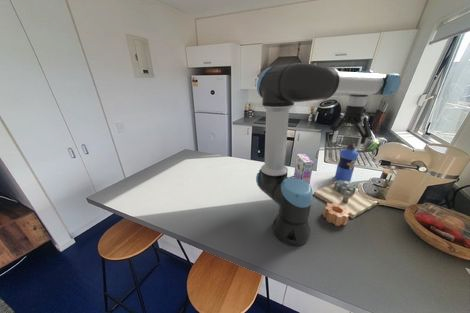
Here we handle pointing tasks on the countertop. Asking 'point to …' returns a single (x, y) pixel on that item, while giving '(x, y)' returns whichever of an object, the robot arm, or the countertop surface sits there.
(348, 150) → the water bottle
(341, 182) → the gear
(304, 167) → the candy box
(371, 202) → the gear board
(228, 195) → the countertop surface
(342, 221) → the gear
